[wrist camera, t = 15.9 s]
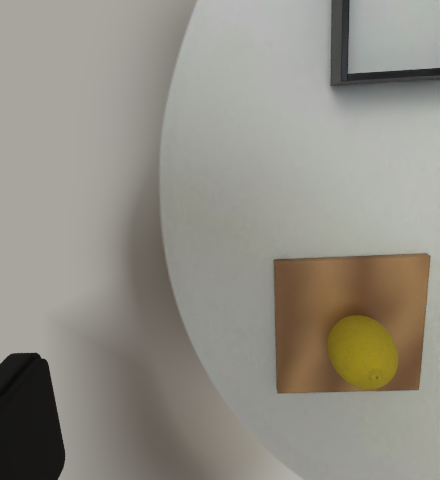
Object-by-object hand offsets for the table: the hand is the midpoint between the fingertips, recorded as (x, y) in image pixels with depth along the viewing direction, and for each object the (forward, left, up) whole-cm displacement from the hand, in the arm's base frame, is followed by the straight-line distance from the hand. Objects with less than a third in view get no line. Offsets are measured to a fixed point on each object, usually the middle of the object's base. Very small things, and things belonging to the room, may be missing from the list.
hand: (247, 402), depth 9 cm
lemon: (+10, -13, -28) cm, 32 cm away
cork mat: (+10, -13, -28) cm, 33 cm away
